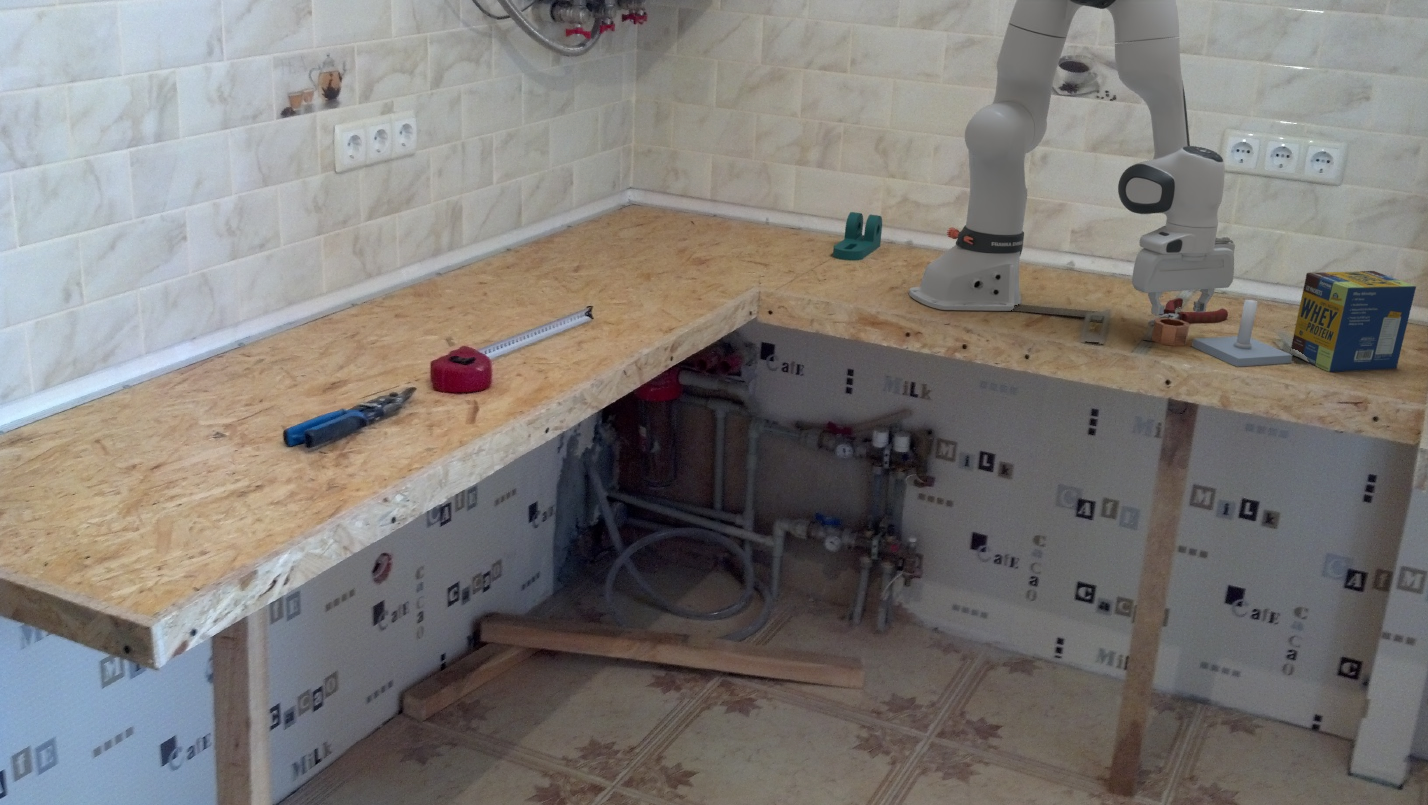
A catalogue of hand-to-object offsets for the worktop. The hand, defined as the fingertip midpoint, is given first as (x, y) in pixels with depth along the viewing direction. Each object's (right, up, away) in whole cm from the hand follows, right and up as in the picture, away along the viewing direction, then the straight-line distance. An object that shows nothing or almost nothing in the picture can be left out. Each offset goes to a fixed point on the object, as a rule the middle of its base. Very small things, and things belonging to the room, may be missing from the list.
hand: (1178, 313), depth 250 cm
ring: (-1, -5, +2) cm, 5 cm away
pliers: (+6, 0, +19) cm, 19 cm away
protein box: (+28, -9, -4) cm, 30 cm away
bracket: (-53, +17, +56) cm, 79 cm away
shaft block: (+10, -8, -4) cm, 13 cm away
